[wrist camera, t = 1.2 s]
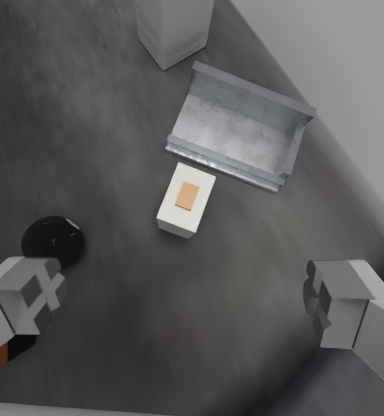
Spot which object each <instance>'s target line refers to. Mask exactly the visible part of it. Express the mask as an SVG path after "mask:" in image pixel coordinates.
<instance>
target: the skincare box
mask: <svg viewBox="0 0 384 416" xmlns="http://www.w3.org/2000/svg"><path fill="white" fill-rule="evenodd" d="M134 3H135V10H136V18H137V25H138V33H139V40H140V41H141V42H142V44H143V45H144V46H145V48H146V49H147V50H148V52H149V53H150V54H151V56H152V57H153V58H154V60H155V61H156V62H157V64H158V65H159V66H160V68H161V69H162V70H163V71H164V70H166V69H168V68H169V67H171V66H173V65H175V64H176V63H178V62H180V61H181V60H183V59H185V58H187V57H188V56H190V55H192V54H194V53H195V52H197V51H199V50H200V49H202V48H204V47H205V46H206V42H207V37H208V31H209V26H210V21H211V15H212V10H213V5H214V0H134Z"/></svg>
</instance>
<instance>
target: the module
mask: <svg viewBox="0 0 384 416" xmlns="http://www.w3.org/2000/svg"><path fill="white" fill-rule="evenodd" d="M215 178H216V177H215V176H213V175H210V174H208V173H205V172H203V171H200V170H197V169H195V168H192V167H190V166H187V165H184V164H182V163H178V165H177V168H176V170H175V173H174V175H173V178H172V180H171V183H170V185H169V187H168V190H167V192H166V195H165V197H164V200H163V202H162V205H161V207H160V210H159V212H158V215H157V217H156V219H157V223H158V227H159V228H160V229H163V230H165V231H168V232H171V233H173V234H176V235H179V236H181V237H184V238H186V239H188V238H190V237H191V236H192V235H193V234H195V233H196V230H197V227H198V225H199V222H200V219H201V216H202V214H203V211H204V208H205V206H206V203H207V200H208V197H209V195H210V192H211V189H212V186H213V184H214V181H215Z"/></svg>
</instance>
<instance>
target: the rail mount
mask: <svg viewBox="0 0 384 416" xmlns="http://www.w3.org/2000/svg"><path fill="white" fill-rule="evenodd" d="M315 112H316V108H313V107H311V106H308V105H306V104H303V103H301V102H298V101H296V100H293V99H291V98H288V97H286V96H283V95H281V94H278V93H276V92H273V91H271V90H268V89H266V88H263V87H261V86H258V85H256V84H253V83H251V82H248V81H246V80H243V79H241V78H238V77H236V76H233V75H231V74H228V73H226V72H223V71H221V70H218V69H216V68H213V67H211V66H208V65H206V64H203V63H201V62H198V61H196V60H195V62H194V64H193V67H192V71H191V78H190V85H189V92H188V95H187V98H186V100H185V103H184V105H183V107H182V110H181V112H180V115H179V117H178V119H177V122H176V124H175V126H174V129H173V131H172V134H169V136H168V138H167V146H166V148H165V152H168V153H170V154H173V155H175V156H178V157H181V158H183V159H186V160H188V161H191V162H193V163H196V164H199V165H201V166H204V167H206V168H209V169H211V170H214V171H217V172H219V173H222V174H224V175H227V176H230V177H232V178H235V179H237V180H240V181H242V182H245V183H248V184H250V185H253V186H255V187H258V188H260V189H263V190H266V191H268V192H271V193H273V194H274V193H276V192H277V191H278V188H280V187H282V186H283V184H284V181H285V178H287V177H289V176H290V175H291V172H292V169H293V165H294V162H295V159H296V155H297V152H298V149H299V145H300V142H301V139H302V135H303V132H304V129H305V125H306V124H307V123H308V122H309V121H310V120H311V119H313V118H314V116H315Z"/></svg>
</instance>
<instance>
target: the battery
mask: <svg viewBox="0 0 384 416" xmlns="http://www.w3.org/2000/svg"><path fill="white" fill-rule="evenodd" d="M34 343H35V335H30V334H14V337H12V338H11V339H10V340H8V341H7V342H6V343H4V344H3V345H2V346H0V367H2V366H3V365H4V364H6V363H7V362H9V361H10V360H12V359H13V358H15V357H16V356H18V355H19V354H21V353H22V352H24V351H25V350H27V349H28V348H30V347H31V346H33V345H34Z"/></svg>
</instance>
